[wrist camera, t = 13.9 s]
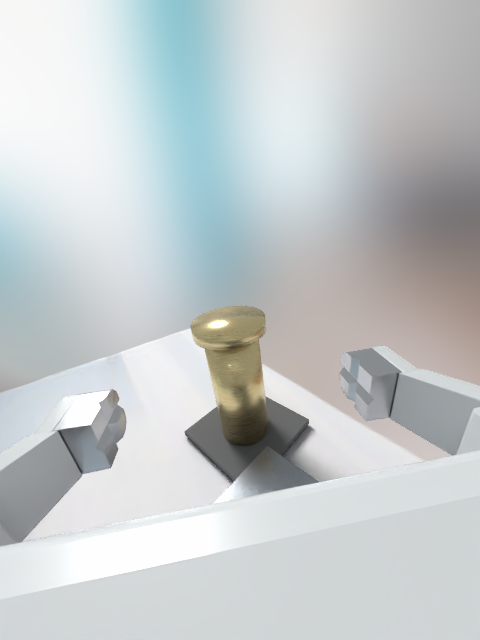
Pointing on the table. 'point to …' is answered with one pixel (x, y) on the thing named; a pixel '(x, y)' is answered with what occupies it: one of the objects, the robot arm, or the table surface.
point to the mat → (238, 458)
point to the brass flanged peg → (235, 369)
